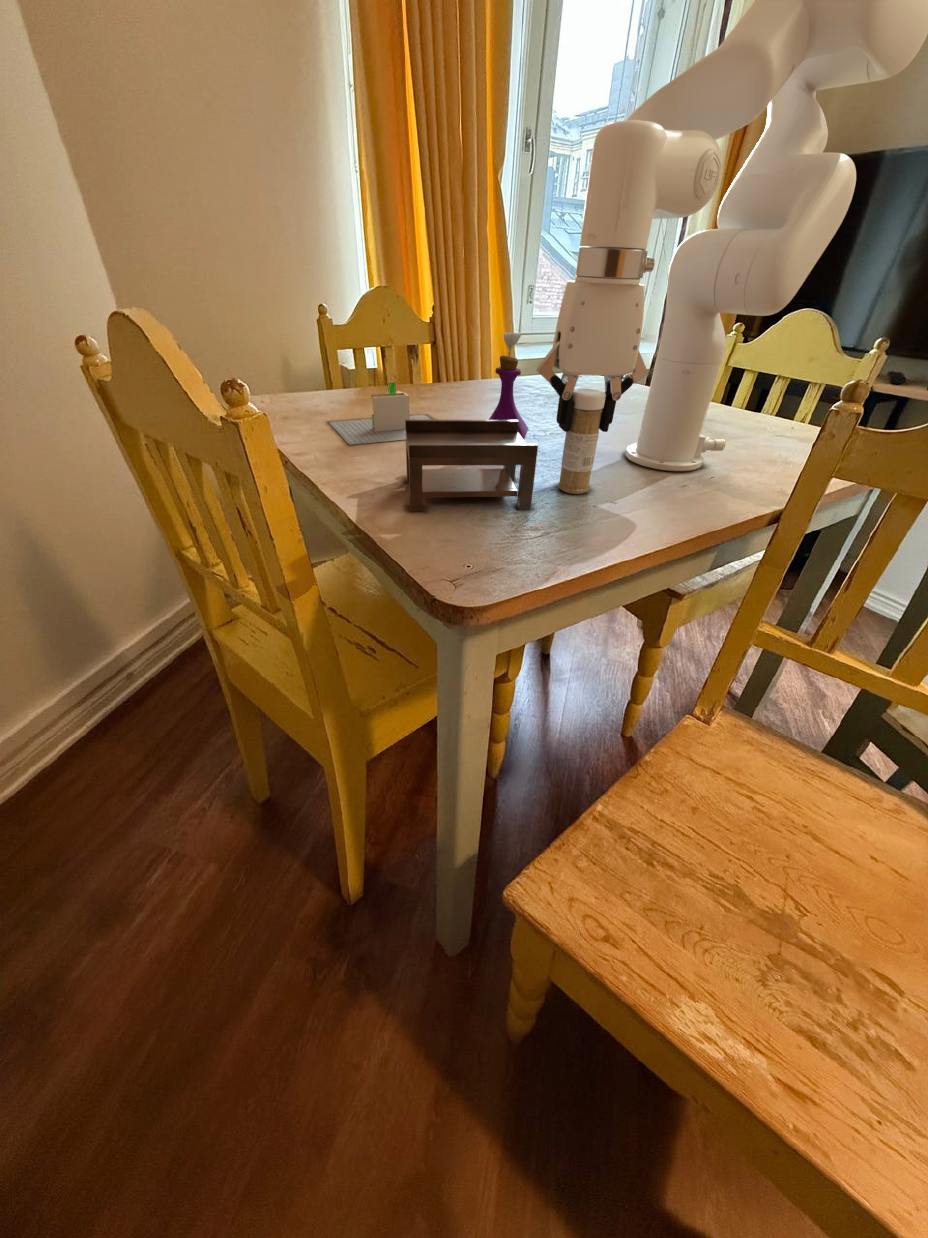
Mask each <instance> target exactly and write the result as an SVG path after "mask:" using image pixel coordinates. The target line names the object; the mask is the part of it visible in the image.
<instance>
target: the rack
mask: <svg viewBox="0 0 928 1238" xmlns="http://www.w3.org/2000/svg"><path fill="white" fill-rule="evenodd" d="M430 419H431V418H430ZM430 419H406V420H405V429H406V440H405V460H406V463H405V464H406V465H405V466H406V483H409V484H408V486H409V487H408V488H409V509H410V512H423V511H424V509H423V507H424V504H423V503H424V502H423V500H424V498H425V499H426V498H489V497H490V498H493V497H495V498H497V497H499V498H501V497H516V507H517V508H518V510H519V511H520V510H522V511H523V510H531V509H532V501H533V492H534V484H535V477H536V476H535V475H536V467H537V458H538V449H539V445H538V443H526V441H525V439H524V440H523V439H522V437H521V436H520V435H519V433H518V426H519V421H518V420H489V419H432V420H430ZM423 466H425V467H427V466H429V467H430V466H434V467H435V466H502V468H423ZM517 466H520V467H519V477H518V487H517V488H516V485H515V484H514V482H515V480H516V479H515V478H516V469H517Z"/></svg>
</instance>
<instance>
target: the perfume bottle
mask: <svg viewBox="0 0 928 1238" xmlns="http://www.w3.org/2000/svg"><path fill="white" fill-rule="evenodd" d="M521 337H522V333H518V332H504V333H503V340H504V343H505V345H506V347H507V349H508V355H503V354H501V355H500V356H499V365H500V366H497V367H496V368H495V371H494V373H495V374H496V375H498V376H499V379H500V382H501V385H500V386H501V388H500V395H499V401H498V403H497V405H496V407H495V409H494V410H493V412H492V413H491V415H490V417H489V418H488V420H518V421H519V426H518V433H519V435H520V436H521V437H522V439H523V440H524V441H525V439H526V436H527V434H528V431H529V427H528V426H527V424H526V422H525V420H524V419H523V418H522V416H521V415H520V412H519V410H518V408H517V406H516V403H515V397H514V383H515V381H516V379H517V377H518V376H521V375H522V370H521V369H520V368H518V364H519V360H518V358H517V357H515V356H511V350H512V349H513V348H514V347H515V346H516V345H517V344H518V342H519V341H520V339H521Z"/></svg>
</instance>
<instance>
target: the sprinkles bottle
mask: <svg viewBox="0 0 928 1238" xmlns="http://www.w3.org/2000/svg"><path fill="white" fill-rule="evenodd" d="M605 399H606V394H605V391H603V390H600V389H594V388H584V387H583V388H574V390H573V393H572V400H573V401H574V409H573V415H572V422H571V428H570V431H569V432H565V438H564V444H563V451H562V457H561V468H560V475H559V481H558V485H557V487H558V489H559V490H561V491H562V492H564V493H568V494H572V495H573V494H574V495H582V494H585V493H587V492H588V491H589V489H590V480H591V475H592V470H593V467H594V461H595V456H596V450H597V445H598V439H599V434H600V429H599V426H600V419H601V414H602V411H603V408H604V405H605Z"/></svg>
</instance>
